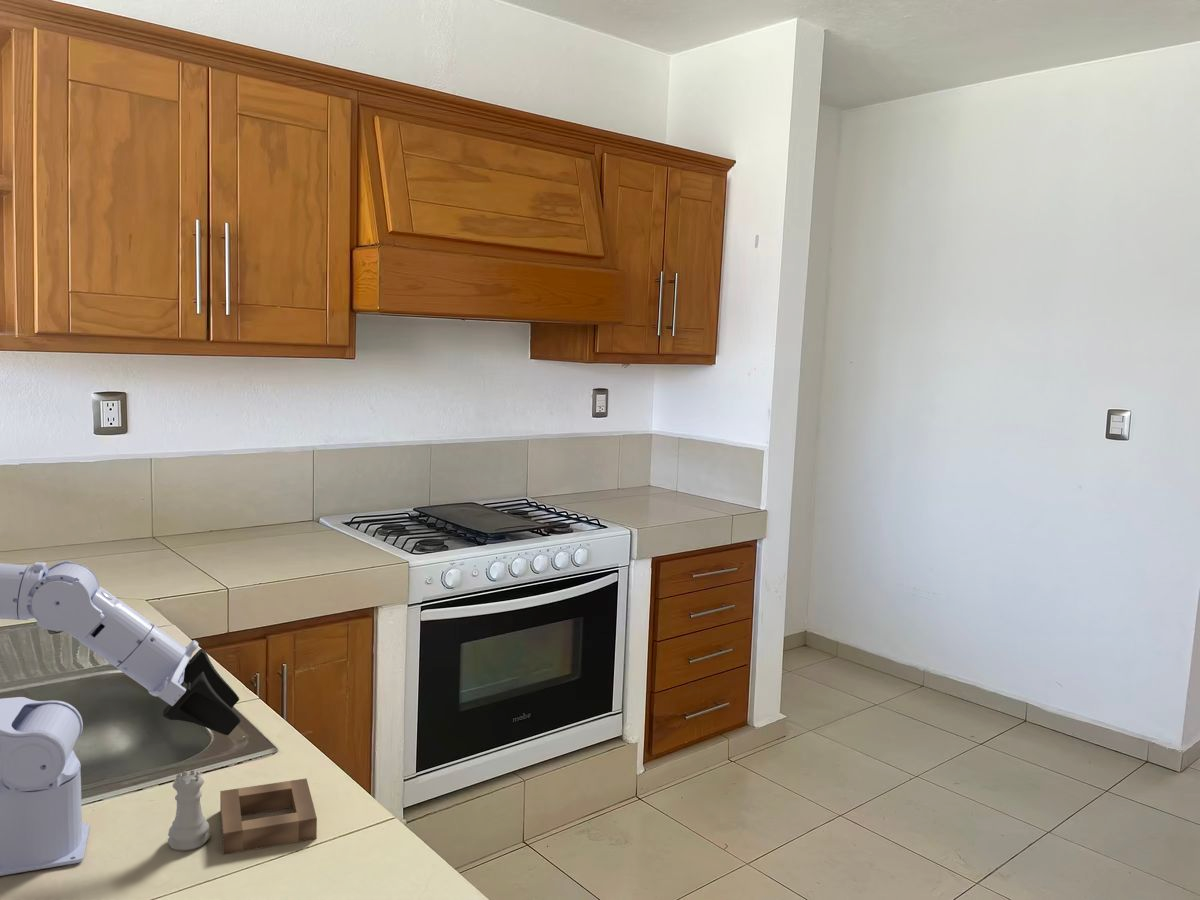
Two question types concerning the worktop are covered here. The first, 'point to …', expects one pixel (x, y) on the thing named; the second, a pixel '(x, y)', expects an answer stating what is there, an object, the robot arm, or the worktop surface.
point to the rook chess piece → (188, 814)
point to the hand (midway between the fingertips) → (233, 716)
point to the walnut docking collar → (269, 828)
